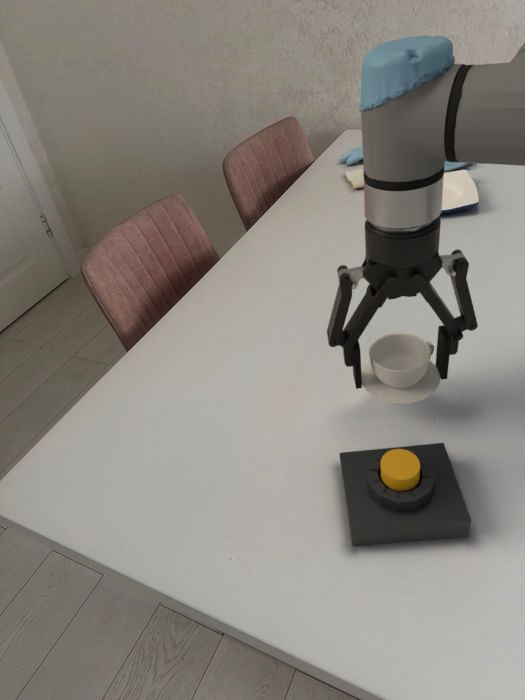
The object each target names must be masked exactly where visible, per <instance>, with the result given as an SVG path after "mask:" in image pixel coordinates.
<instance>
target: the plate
mask: <svg viewBox="0 0 525 700" xmlns="http://www.w3.org/2000/svg"><path fill="white" fill-rule="evenodd" d="M479 204H480V203H479V192H478V188H477V186H476V184H475V181H474V180H473V178H472V176H471V174H470V173H469V171H468V169H460V170H459V169H458V170H452V171H448V172H444V179H443V197H442V211H441V214H448V213H454V212H459V211H463V210H467V209H473V208H474V207H476V206H477V205H479Z"/></svg>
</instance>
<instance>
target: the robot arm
mask: <svg viewBox="0 0 525 700" xmlns="http://www.w3.org/2000/svg"><path fill="white" fill-rule="evenodd" d="M455 61H456V58H455V56H454V45H453V42H452V41H451V39H450V38H448V37H446V36H442V35H433V36H432V35H415V36H408V37H402V38H397V39H391V40H389V41H386V42H383V43H379V44H377V45H376V46H374V47H372V48H371V49H370V50H368V51H367V52H366V54H365V55H364V57H363V59H362V63H361V75H360V76H361V77H360V78H361V79H360V104H359V107H358V108H359V112H360V121H361V122H360V123H361V141H362V147H363V159H362V162H363V165H362V166H363V169H364V170H363V176H364V187H363V203H364V204H363V205H364V207H363V208H364V209H363V210H364V218H365V222H364V241H365V243H364V247H365V249H364V251H365V257H364V260H363V262H362V264H361V266H356V267H350V268H349V267H348V266H347V265H345V264H342V265H339V266H338V267H337V270H336V271H337V276H338V278H337V279H338V287H337V291H336V295H335V298H334V303H333V305H332V309H331V314H330V317H329V322H328V324H327V328H326V336H327V342H328V346H329V347H331V348H335V347H338V346H339V347H342V354H343V355H342V356H343V361H344V365H345V366H346V367H347V368H348V367H352V376H353V380H354V386H355V390H356V389H358V390H359V389H363V385H362V377H361V369H362V359H361V346H360V342H359V340H360V338H361V337H362V334H363V333H364V331H365V330H366V329H367V327H368V325H369V324H370V322H371V321H372V319H373V318H374V316H375V314H376V313H377V311H378V310H379V309H381V308H382V307H383V306H384V304H385V302H386V301H387V300H395V299H399V298H402V297H406V298H413V297H417V295H418V294H420V295H421V296H422V298H423V299H424V300H425V302H426V303H427V304H428V306H429V307H430V308H431V309H432V311H433V312H434V313H435V315H436V316H437V317H438V320H439V321H440V322H441V323H442V325H438V327H437V329H438V330H437V342H436V352H435V364H434V365H435V366H436V367H437V369H438V371H439V374H440V380H448V373H449V365H450V364H449V363H450V356H453V355H456V354H457V353H458V351H459V344H460V341H461V340H462V339H463V338H464V334H463V332H464V331H465V332H466V331H467V330H468V331H470V332H472V331H475V330H477V328H478V327H479V324H478V321H477V316H476V312H475V309H474V304H473V300H472V296H471V292H470V288H469V284H468V279H467V277H468V272H469V266H470V262H469V261H468V259H467V257H466V256H465V255H464V253H463V251H462V250H461V249H454V250H453V251H452V252H451V254H444V255H443V254H442V255H440V253H439V250H440V240H441V239H440V237H441V225H442V224H441V223H442V219H441V217H440V215H441V214H442V213H441V211H442V197H443V179H444V173H445V172H444V168H445V162H457V163H458V162H464V163H470V164H485V165H503V166H504V165H508V166H523V167H524V166H525V42H523V44H522V45H521V46H520V48H519V49H518V51H517V52H516V54H515V56H514V57H513V58H512V59H511V61H510V62H498V63H483V64H465V63H455ZM441 269H443V270H444V271H445V273H446V275H447V276H449V277H450V281H451V285H452V289H453V293H454V297H455V299H456V303H457V308H458V311H459V314H460V315H458V316H456V317H454V315H453V313H452V312H451V311H450V309H449V307H448V306H447V305H446V304H445V302H444V301H443V299H442V297H441V296H440V295H439V293H438V292H437V290H436V289H435V288H434V286H433V284H432V283H431V281H432V280H434V278H435V277H436V275H438V273H439V272H440V271H441ZM362 279H364V280H365V281H366V282H367V283H368V285H367V287H366V289H365V294H364V295H363V297H362V299H361V300H360V302H359V304H358V305H357V307H356V309H355V310H354V312H353V313H352V315H351V317H350V319H349V320H348V322H347V324H345V322H346V320H347V315H348V312H349V308H350V305H351V301H352V297H353V290H356V289H357V287H358V285H359V283H360V281H361V280H362ZM344 326H345V327H344Z"/></svg>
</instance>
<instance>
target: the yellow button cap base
mask: <svg viewBox="0 0 525 700" xmlns="http://www.w3.org/2000/svg"><path fill="white" fill-rule="evenodd" d="M393 449H404V450H408V451H410V452H412V453H413V454H415V455H416V456H417V458H418V459H419V462H420V478H419V482H418V484H417V485H416V486H415V487H414V488H413V489H411V490H408V491H395V490H393V489H390V488H389V487H387V486H386V485H385V484H384V482H383V481H382V478H381V459H382V457H383V455H384V454H385V453H387V452H388V451H390V450H393ZM339 462H340V471H341V479H342V486H343V493H344V499H345V500H344V501H345V507H346V514H347V521H348V528H349V536H350V542H351V546H352V547H355V546H368V545H381V544H382V545H383V544H395V543H407V542H420V541H432V540H447V539H459V538H468V537H469V534H470V530H471V529H470V527H471V523H472V519H471V516H470V513H469V510H468V507H467V505H466V504H467V503H466V501H465V499H464V496H463V493H462V490H461V487H460V484H459V482H458V479H457V477H456V474H455V470H454V468H453V465H452V462H451V459H450V456H449V454H448V450H447V448H446V445H445V443H444V442H437V443H426V444H417V445H416V444H415V445H405V446H394V447H383V448H375V449H367V450H366V449H364V450H355V451H344V452H339Z"/></svg>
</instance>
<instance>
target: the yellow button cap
mask: <svg viewBox="0 0 525 700" xmlns="http://www.w3.org/2000/svg"><path fill="white" fill-rule="evenodd" d="M381 478H382V481H383V482H384V484H385V485H386V486H387V487H389V488H390V489H393V490H395V491H408V490H411V489H413V488H414V487H415V486H416V485H417V484H418V482H419V478H420V462H419V459H418V458H417V456H416V455H415V454H413V453H412V452H410V451H408V450H404V449H393V450H390V451H388V452H387V453H385V454H384V455H383V457H382V459H381Z"/></svg>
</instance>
